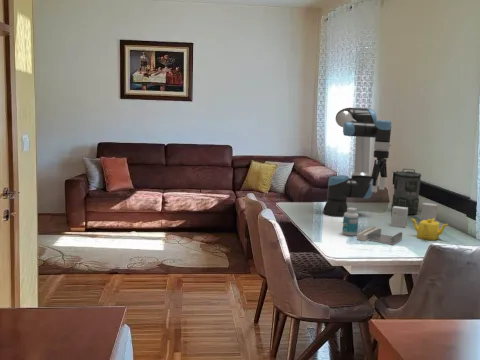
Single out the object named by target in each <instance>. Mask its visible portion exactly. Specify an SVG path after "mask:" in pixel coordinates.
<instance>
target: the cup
mask: <svg viewBox="0 0 480 360" xmlns="http://www.w3.org/2000/svg"><path fill="white" fill-rule="evenodd" d="M437 211H438V204H436V203H433V202H432V203H431V202H422V203H421V213H420V222H421V221H422V220H427V219H433V218H435V220H434V221H435V222H437Z"/></svg>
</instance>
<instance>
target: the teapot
mask: <svg viewBox="0 0 480 360" xmlns="http://www.w3.org/2000/svg"><path fill="white" fill-rule="evenodd" d="M411 220H412V222H413V225H414V230H415V231H416V238H417V239H420V240H421V239H422V240H424V241H425V240H427V241H432V242H433V241H437V240H438V239H439V236H441V235H443V233H444V230H445V228H446V227H447V226H448V225H449V223H443V224H442V226H441V228H440V222H439V221H436V222H435V221H434V220H435V218H433V219H427V220H422V221H421V220H420V222H419V223H418V222H417V221H416V219H415V218H411ZM417 223H418V224H417Z"/></svg>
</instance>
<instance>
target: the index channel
mask: <svg viewBox="0 0 480 360" xmlns="http://www.w3.org/2000/svg"><path fill="white" fill-rule="evenodd" d="M402 239H403V232H398V233H397V234H394V235H393V236H392V235H387V234H382V228H379V229H377V230H375V231H373V232H371V233H370V235H369V239H368V241H370V242H375V243H380V244H386V245H392V246H394V245H395V244H397V243H399V242H400V241H402Z"/></svg>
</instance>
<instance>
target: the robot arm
mask: <svg viewBox="0 0 480 360" xmlns="http://www.w3.org/2000/svg"><path fill="white" fill-rule="evenodd" d="M335 122H336V124H337V125H338V126H339V127H341V128H342V134H343V136H344V137H345V136H346V137H355V146H354V147H355V150H354V168H353V173H352V174H351V177H349V176H348V175H340V174H339V175H338V174H337V175H333V176H330V177H329V178H328V183H327V195H326V196H327V197H326V201H325V204H324V207H323V210H322V214H324V215H326V216H332V217H343V218H344V213H345V212H347V208H349V207H348V202H347V201H348V200H347V199H348V198H349V199H351V198H352V199H369V198H371V197H372V195H373V193H378V190H382V191H384V190H385V185H386V178H388V174H387V172H388V169H387V160H388V159H389V158H390V157H389V154H390V151H389V150H390V147H391V144H390V143H391V142H390V141H391V133H392V121H391V120H387V119H386V120H385V119H378V118H377V113H376V111H375V109H373V108H368V107H367V108H365V107H361V108H360V107H345V108H342V109H341V110H339V111H338V112H337V113H336V114H335ZM371 138H374V147H373V149H374V150H373V157H374V158H376V159H374V165H373V167H372V168H373V169H372V173H371V174H370V156H371V154H370V153H371ZM379 176H380V177H379Z"/></svg>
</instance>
